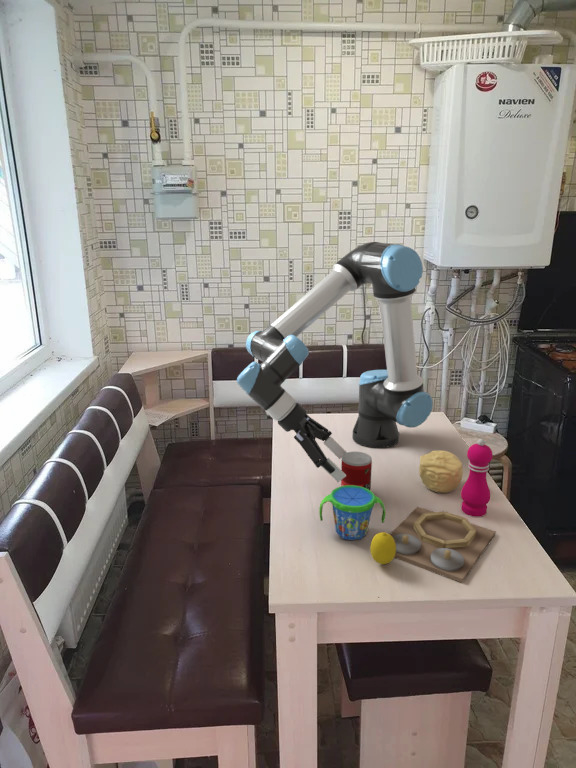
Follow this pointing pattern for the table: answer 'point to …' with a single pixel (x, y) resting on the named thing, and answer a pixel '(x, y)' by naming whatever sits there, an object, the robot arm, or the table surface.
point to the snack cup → (352, 510)
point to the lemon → (383, 548)
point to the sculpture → (440, 471)
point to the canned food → (357, 469)
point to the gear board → (441, 542)
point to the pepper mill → (477, 480)
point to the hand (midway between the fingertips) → (342, 466)
